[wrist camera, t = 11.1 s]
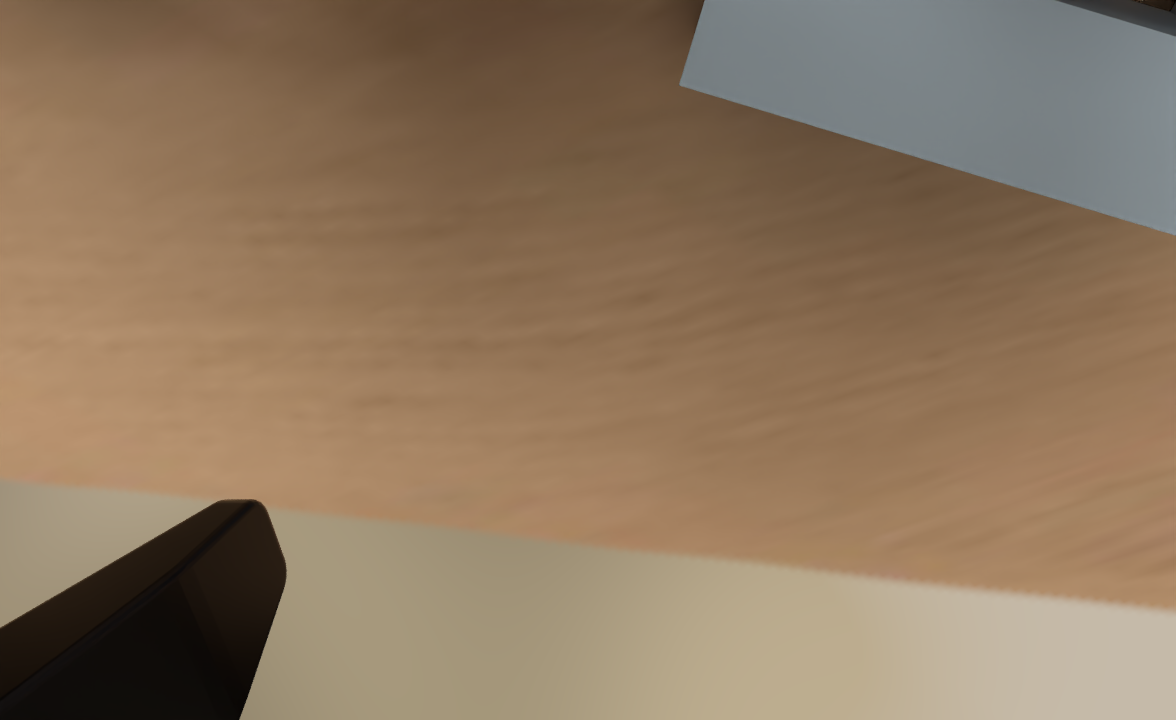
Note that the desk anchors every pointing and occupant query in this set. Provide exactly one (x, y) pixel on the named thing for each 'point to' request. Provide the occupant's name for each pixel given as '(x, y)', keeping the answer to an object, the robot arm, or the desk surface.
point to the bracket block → (969, 87)
